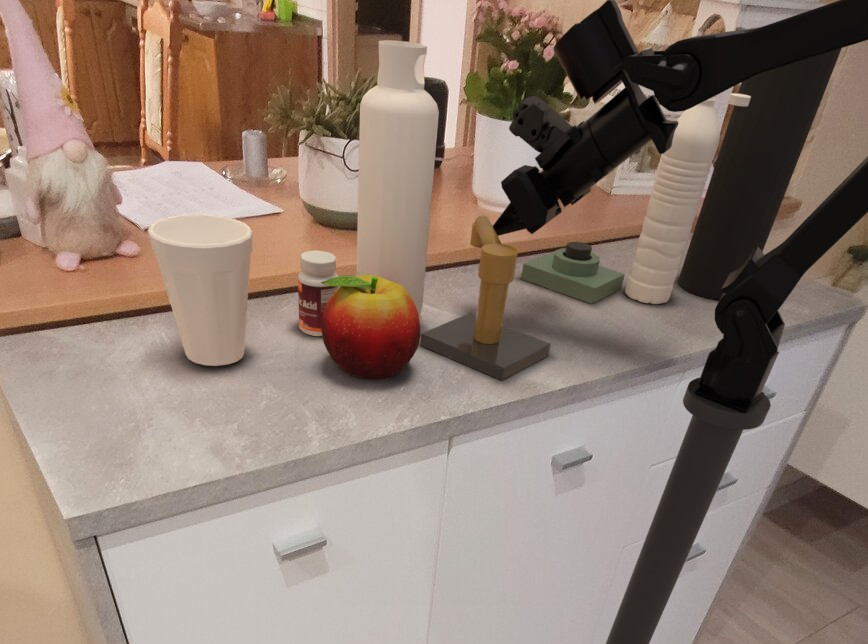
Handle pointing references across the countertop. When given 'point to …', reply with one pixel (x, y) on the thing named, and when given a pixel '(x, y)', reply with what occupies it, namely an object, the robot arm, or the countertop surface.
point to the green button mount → (573, 276)
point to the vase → (754, 170)
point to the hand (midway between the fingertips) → (494, 231)
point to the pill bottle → (314, 289)
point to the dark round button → (578, 251)
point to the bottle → (396, 170)
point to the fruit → (370, 326)
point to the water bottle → (675, 202)
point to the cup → (206, 282)
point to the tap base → (482, 353)
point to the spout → (493, 253)
